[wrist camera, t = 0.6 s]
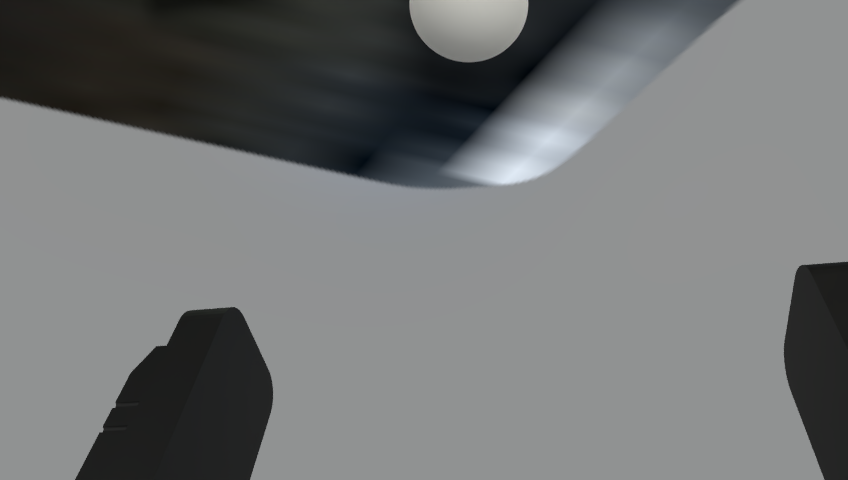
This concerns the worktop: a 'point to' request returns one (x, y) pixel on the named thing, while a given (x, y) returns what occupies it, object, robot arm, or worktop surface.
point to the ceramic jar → (468, 26)
